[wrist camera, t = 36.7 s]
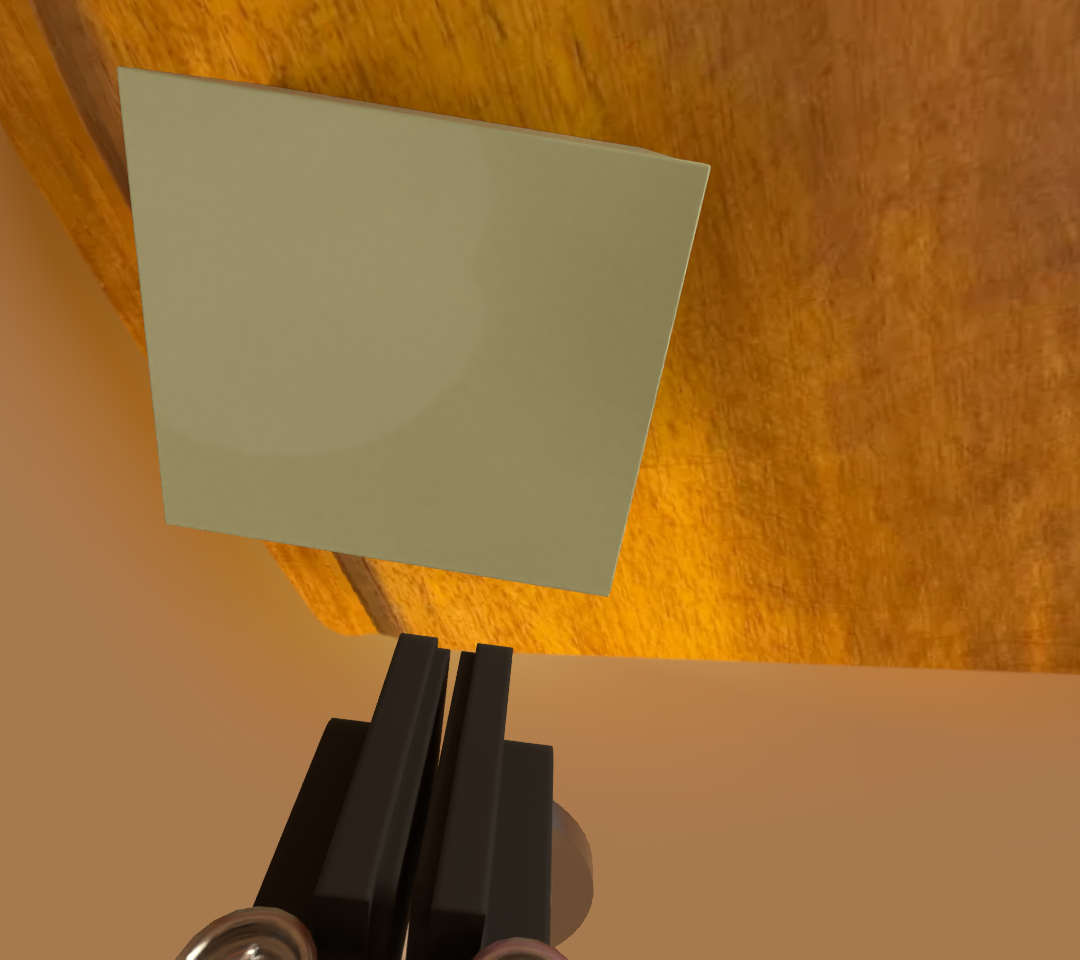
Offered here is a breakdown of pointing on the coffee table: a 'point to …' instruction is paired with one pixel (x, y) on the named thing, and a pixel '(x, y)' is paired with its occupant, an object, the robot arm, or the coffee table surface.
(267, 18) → the coffee table surface
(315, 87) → the coffee table surface
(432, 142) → the lid
